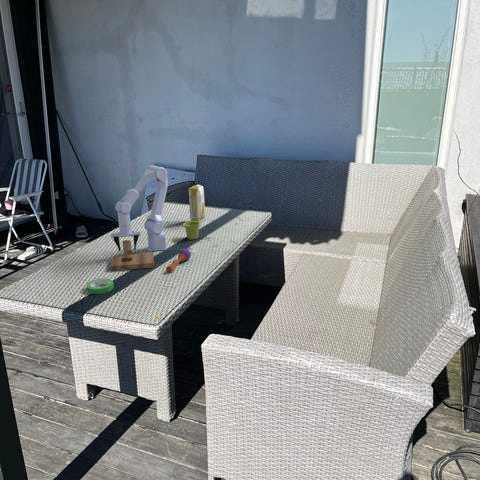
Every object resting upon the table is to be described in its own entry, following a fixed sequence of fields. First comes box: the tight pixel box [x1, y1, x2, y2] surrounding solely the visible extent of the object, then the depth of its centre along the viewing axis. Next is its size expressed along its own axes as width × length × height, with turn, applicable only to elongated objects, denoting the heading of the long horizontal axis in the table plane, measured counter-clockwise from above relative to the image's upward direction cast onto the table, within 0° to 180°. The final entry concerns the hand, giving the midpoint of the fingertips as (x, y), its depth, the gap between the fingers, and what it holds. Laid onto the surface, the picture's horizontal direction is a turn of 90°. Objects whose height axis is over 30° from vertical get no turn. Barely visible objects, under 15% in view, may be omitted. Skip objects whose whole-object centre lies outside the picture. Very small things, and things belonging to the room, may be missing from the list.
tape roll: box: [86, 277, 115, 295], centre depth 198 cm, size 11×11×3 cm
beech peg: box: [122, 239, 133, 255], centre depth 234 cm, size 4×4×8 cm
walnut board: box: [110, 252, 155, 272], centre depth 224 cm, size 20×14×2 cm
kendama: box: [165, 248, 192, 273], centre depth 222 cm, size 6×6×20 cm
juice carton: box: [188, 184, 206, 225], centre depth 287 cm, size 9×8×24 cm
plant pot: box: [183, 220, 201, 240], centre depth 260 cm, size 9×9×9 cm
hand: (127, 250), depth 234 cm, fingers open, 7 cm apart
